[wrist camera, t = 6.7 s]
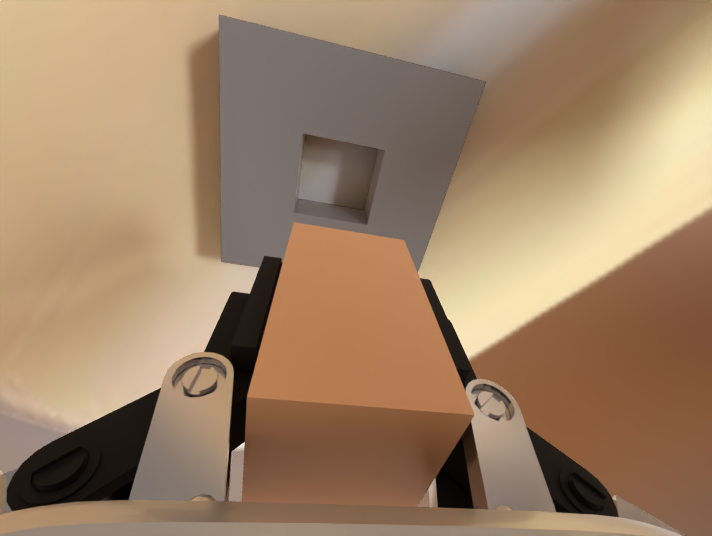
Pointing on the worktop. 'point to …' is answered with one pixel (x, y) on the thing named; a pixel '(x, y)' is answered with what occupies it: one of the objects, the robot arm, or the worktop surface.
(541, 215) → the worktop surface
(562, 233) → the worktop surface
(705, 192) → the worktop surface
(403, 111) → the grey square hole board
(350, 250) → the orange rectangular block
